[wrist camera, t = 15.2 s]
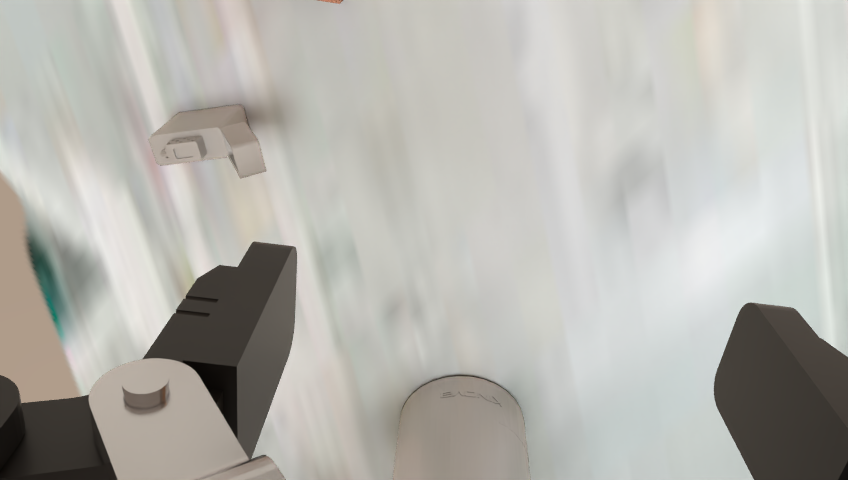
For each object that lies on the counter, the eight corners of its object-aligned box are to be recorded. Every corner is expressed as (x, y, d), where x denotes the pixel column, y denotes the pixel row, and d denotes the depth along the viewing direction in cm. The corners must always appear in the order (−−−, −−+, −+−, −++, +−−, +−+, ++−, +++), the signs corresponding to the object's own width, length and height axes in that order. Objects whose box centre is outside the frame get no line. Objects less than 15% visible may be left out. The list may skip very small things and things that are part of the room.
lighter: (184, 140, 42) (128, 193, 35) (176, 112, 41) (116, 161, 34) (298, 125, 41) (264, 176, 34) (291, 97, 40) (255, 143, 33)
